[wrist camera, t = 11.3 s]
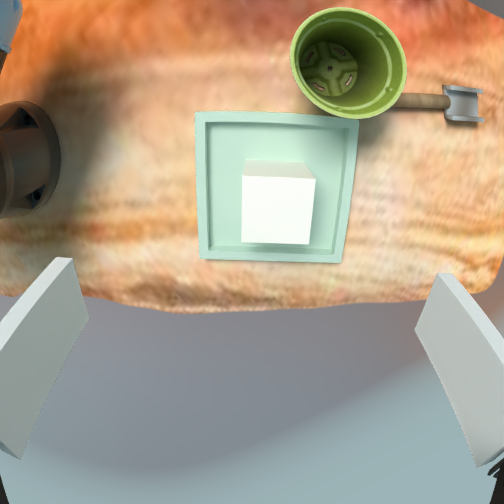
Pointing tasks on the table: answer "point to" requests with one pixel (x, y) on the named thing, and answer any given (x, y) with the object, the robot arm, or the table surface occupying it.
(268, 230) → the block
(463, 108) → the scoop
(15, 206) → the robot arm
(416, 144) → the table surface
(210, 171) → the tray
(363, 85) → the plant pot
